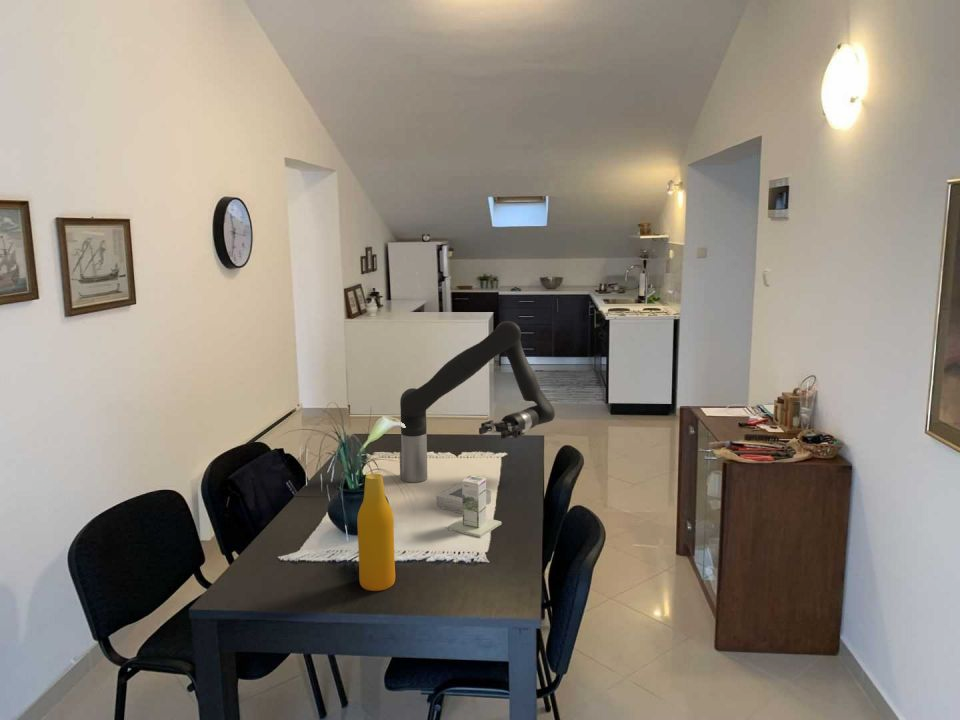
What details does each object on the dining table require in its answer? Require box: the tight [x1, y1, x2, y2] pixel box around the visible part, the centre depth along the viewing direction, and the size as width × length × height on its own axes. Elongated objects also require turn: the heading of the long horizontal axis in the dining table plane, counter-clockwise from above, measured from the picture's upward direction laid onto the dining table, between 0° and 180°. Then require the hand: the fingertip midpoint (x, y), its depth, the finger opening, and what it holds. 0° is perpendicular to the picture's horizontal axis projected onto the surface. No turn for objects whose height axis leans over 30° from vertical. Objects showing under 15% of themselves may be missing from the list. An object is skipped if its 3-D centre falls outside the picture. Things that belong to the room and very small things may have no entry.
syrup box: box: [461, 475, 487, 528], centre depth 224 cm, size 6×6×14 cm
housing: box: [435, 483, 492, 514], centre depth 243 cm, size 13×13×4 cm
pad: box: [447, 517, 503, 538], centre depth 225 cm, size 12×12×1 cm
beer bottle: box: [356, 473, 396, 592], centre depth 187 cm, size 9×9×29 cm
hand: (490, 433), depth 239 cm, fingers open, 8 cm apart
